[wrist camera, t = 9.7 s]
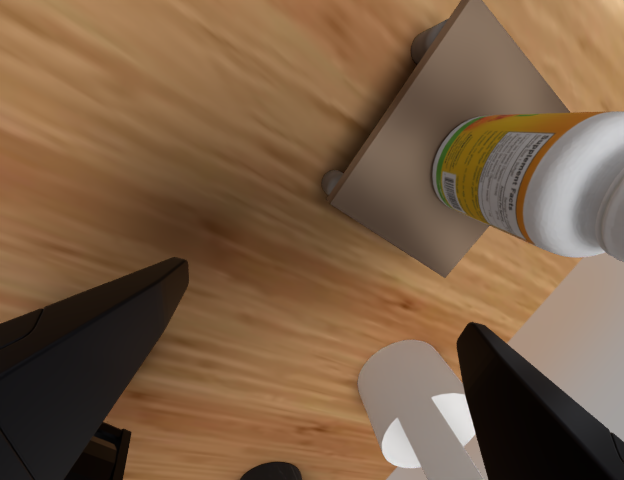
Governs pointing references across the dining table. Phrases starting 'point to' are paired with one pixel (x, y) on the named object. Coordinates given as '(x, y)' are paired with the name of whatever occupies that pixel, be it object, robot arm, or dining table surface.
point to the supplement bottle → (540, 178)
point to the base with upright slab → (418, 410)
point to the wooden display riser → (437, 134)
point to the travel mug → (273, 472)
